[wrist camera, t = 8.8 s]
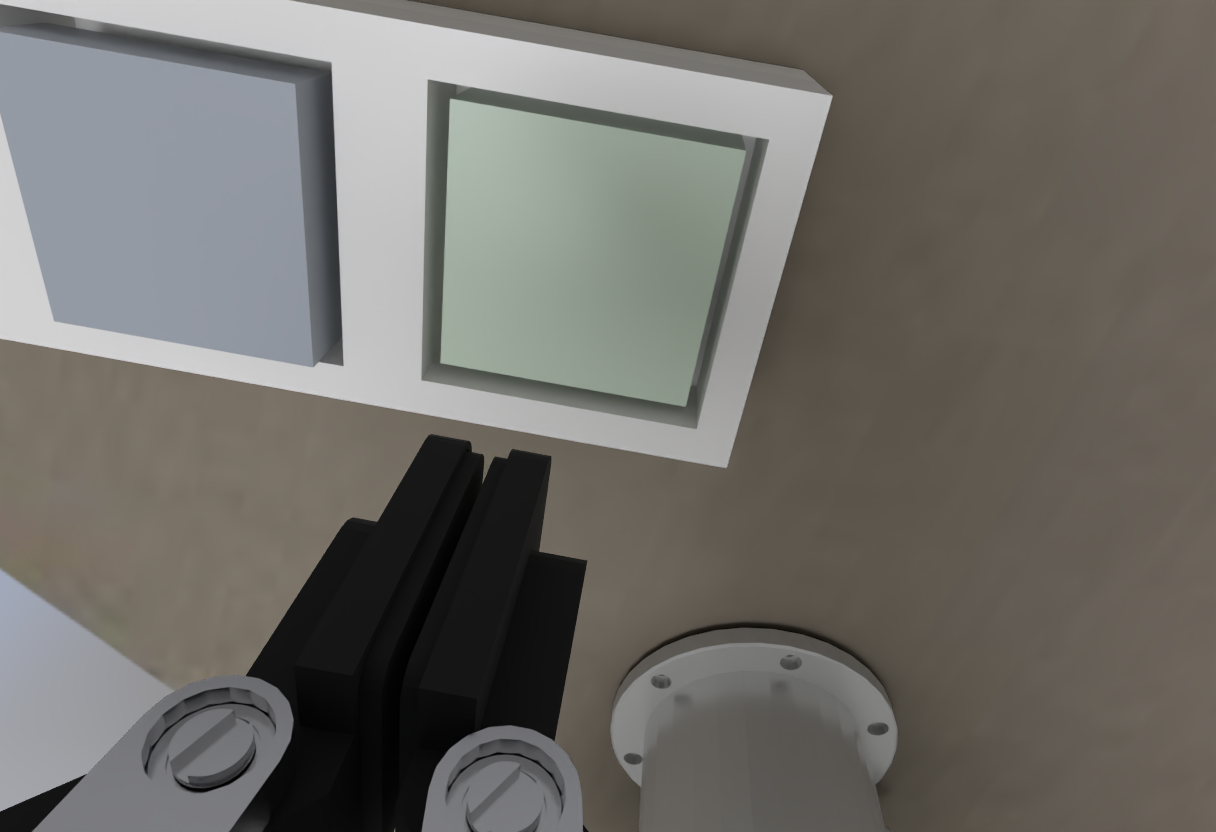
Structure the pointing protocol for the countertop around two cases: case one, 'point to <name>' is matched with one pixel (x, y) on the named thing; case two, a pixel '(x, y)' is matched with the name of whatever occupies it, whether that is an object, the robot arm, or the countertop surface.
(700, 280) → the sage key
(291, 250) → the slate key
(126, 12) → the keypad
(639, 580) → the countertop surface
